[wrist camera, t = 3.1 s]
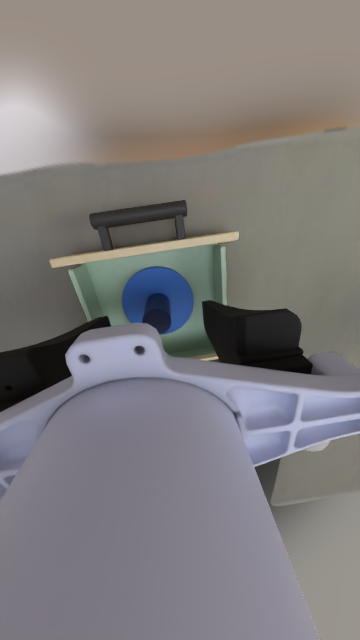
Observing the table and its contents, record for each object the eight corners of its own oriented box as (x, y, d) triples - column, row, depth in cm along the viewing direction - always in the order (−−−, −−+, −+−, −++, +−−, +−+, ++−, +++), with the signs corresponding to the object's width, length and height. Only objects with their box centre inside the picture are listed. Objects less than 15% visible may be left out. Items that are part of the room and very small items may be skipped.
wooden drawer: (109, 362, 21) (101, 382, 18) (56, 223, 15) (31, 220, 12) (228, 343, 21) (237, 360, 18) (225, 198, 15) (239, 190, 12)
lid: (132, 336, 19) (123, 365, 15) (114, 272, 16) (96, 285, 12) (196, 326, 19) (204, 352, 15) (188, 260, 16) (197, 269, 12)
